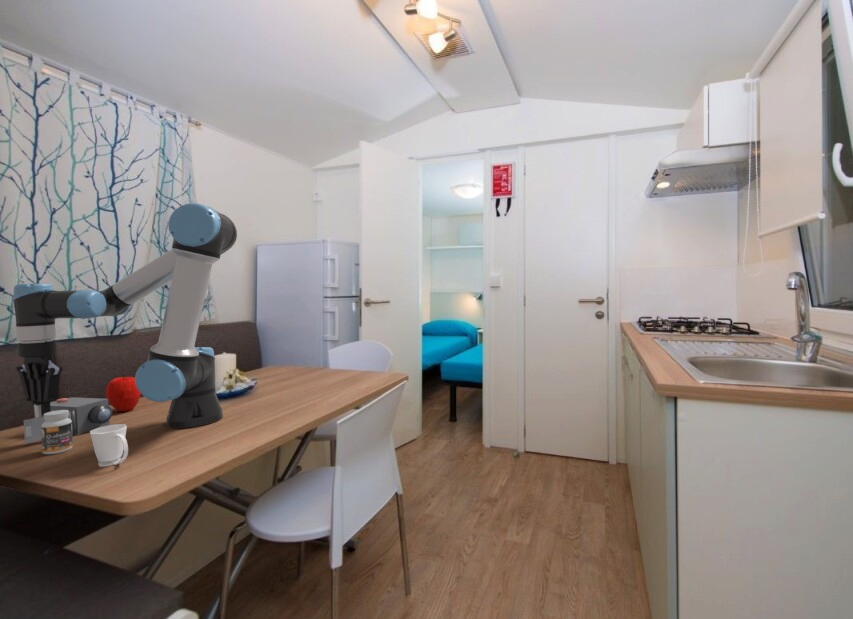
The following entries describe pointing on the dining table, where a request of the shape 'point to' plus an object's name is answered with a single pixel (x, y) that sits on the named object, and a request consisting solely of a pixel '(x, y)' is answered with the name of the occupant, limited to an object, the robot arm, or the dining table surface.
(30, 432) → the side door
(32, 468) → the dining table surface
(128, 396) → the apple
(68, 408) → the camera body
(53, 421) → the pill bottle
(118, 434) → the cup
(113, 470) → the dining table surface
